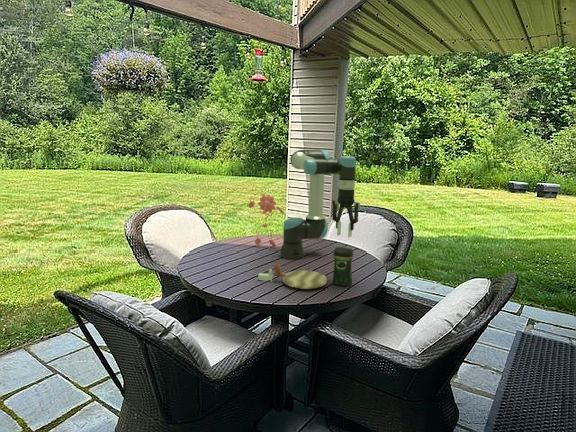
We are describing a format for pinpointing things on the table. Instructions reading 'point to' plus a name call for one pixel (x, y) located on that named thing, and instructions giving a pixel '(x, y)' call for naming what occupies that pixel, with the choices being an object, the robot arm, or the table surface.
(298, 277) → the turntable
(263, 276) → the pale green block
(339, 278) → the coffee jar
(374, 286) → the table surface
